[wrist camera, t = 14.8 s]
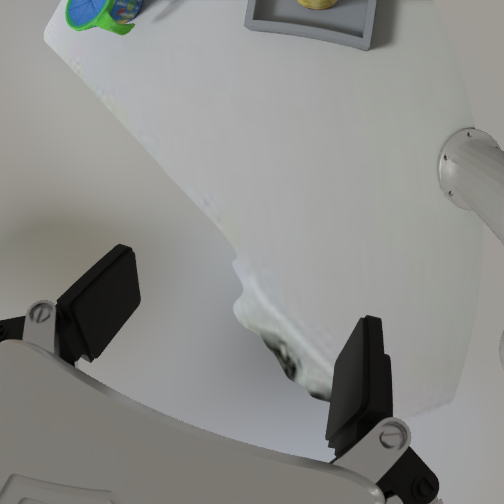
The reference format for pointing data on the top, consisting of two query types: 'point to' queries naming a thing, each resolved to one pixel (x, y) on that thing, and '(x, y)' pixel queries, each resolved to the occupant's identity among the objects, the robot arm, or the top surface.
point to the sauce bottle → (317, 4)
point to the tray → (315, 20)
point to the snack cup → (102, 14)
